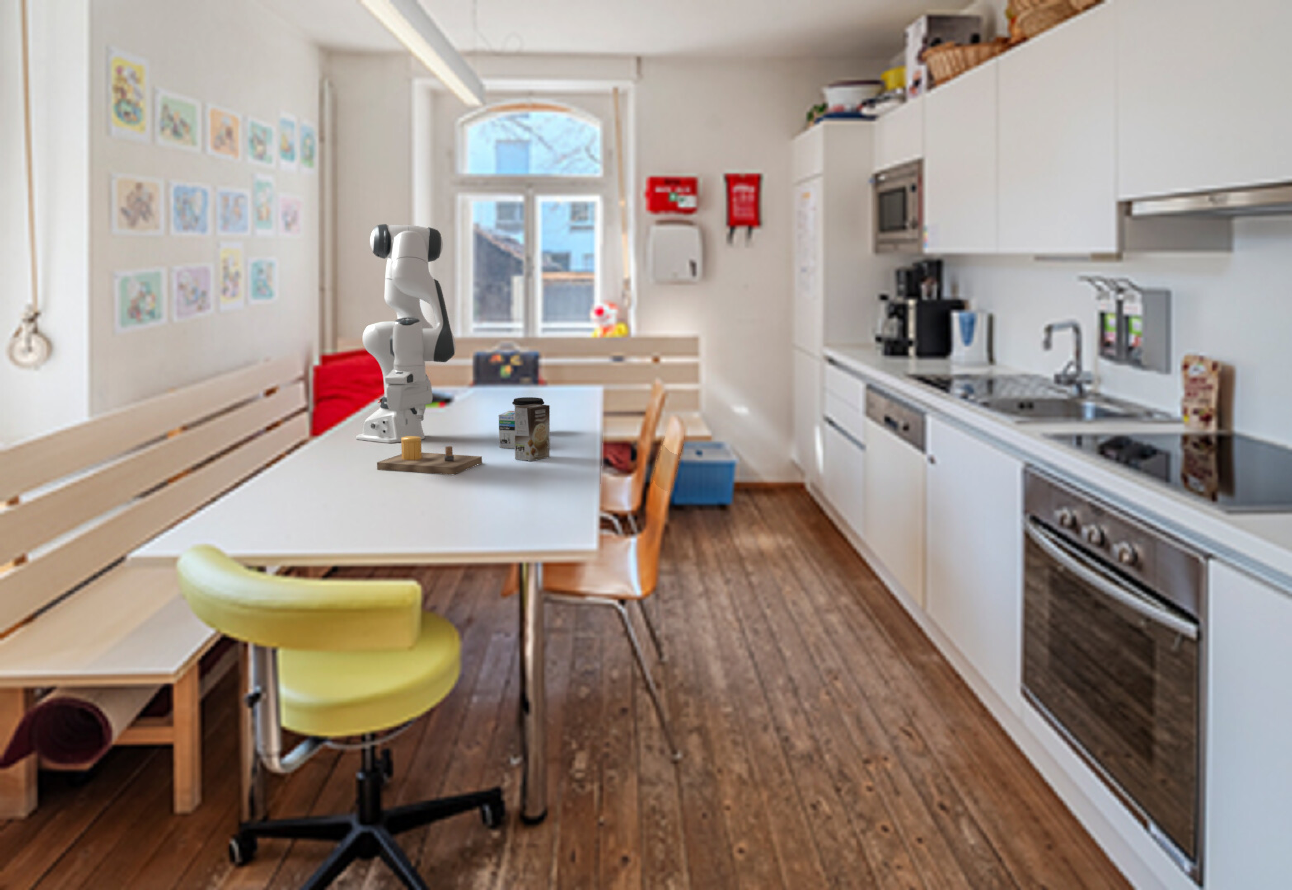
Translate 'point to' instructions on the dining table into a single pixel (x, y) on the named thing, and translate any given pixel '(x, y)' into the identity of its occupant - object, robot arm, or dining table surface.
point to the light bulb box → (507, 430)
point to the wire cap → (411, 447)
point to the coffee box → (532, 432)
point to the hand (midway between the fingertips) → (411, 423)
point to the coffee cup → (527, 401)
